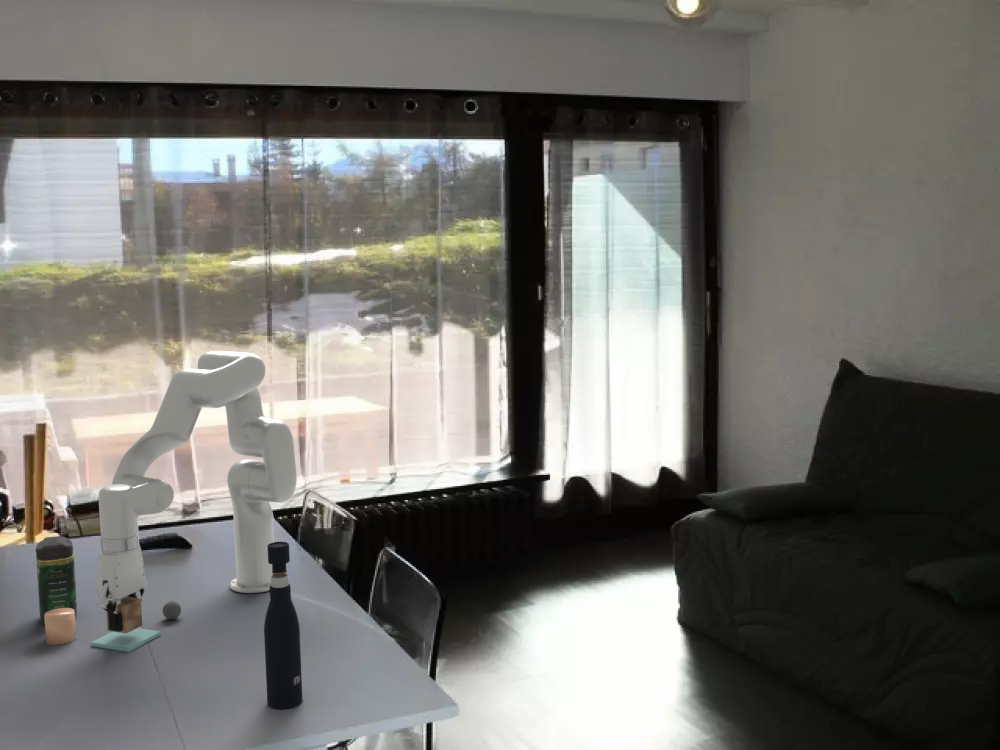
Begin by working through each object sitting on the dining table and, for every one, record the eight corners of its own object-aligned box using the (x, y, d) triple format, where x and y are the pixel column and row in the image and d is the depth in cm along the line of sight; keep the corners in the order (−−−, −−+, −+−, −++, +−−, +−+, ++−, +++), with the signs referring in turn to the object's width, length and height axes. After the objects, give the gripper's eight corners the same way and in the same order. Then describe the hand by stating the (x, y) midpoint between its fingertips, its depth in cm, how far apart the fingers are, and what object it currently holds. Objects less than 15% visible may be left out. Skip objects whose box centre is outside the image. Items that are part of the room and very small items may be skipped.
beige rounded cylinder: (60, 632, 232) (58, 606, 231) (82, 636, 230) (80, 609, 229) (39, 642, 226) (37, 615, 225) (61, 646, 224) (60, 619, 223)
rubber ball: (170, 614, 242) (169, 598, 241) (185, 616, 240) (184, 599, 240) (159, 620, 238) (158, 603, 238) (173, 622, 237) (172, 605, 236)
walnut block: (123, 622, 229) (122, 596, 229) (142, 625, 228) (140, 598, 227) (107, 630, 225) (105, 603, 224) (126, 633, 223) (124, 606, 222)
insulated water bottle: (269, 695, 198) (262, 540, 194) (304, 693, 199) (297, 538, 195) (265, 710, 192) (257, 550, 188) (300, 708, 192) (294, 548, 188)
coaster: (123, 629, 233) (123, 626, 233) (160, 634, 229) (160, 631, 229) (91, 645, 224) (90, 642, 224) (129, 651, 220) (129, 648, 220)
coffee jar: (78, 622, 238) (73, 542, 235) (40, 627, 235) (34, 546, 232) (77, 608, 247) (72, 531, 244) (40, 614, 244) (34, 535, 241)
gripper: (133, 531, 233) (137, 610, 235) (77, 552, 217) (82, 637, 220) (161, 534, 230) (165, 614, 233) (106, 556, 215) (111, 642, 217)
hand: (125, 624), depth 226 cm, fingers closed on walnut block, 5 cm apart
